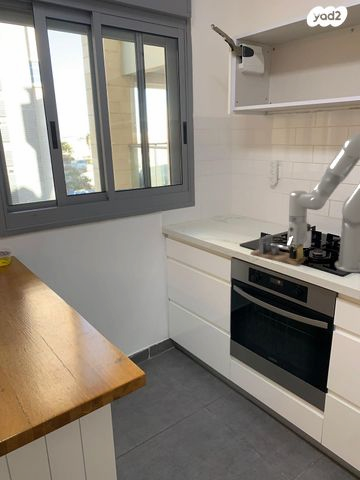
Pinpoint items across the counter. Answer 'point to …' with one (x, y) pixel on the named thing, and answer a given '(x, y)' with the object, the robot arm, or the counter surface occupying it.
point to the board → (279, 257)
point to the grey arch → (265, 244)
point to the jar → (308, 237)
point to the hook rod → (298, 248)
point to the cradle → (275, 251)
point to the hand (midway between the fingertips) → (296, 256)
